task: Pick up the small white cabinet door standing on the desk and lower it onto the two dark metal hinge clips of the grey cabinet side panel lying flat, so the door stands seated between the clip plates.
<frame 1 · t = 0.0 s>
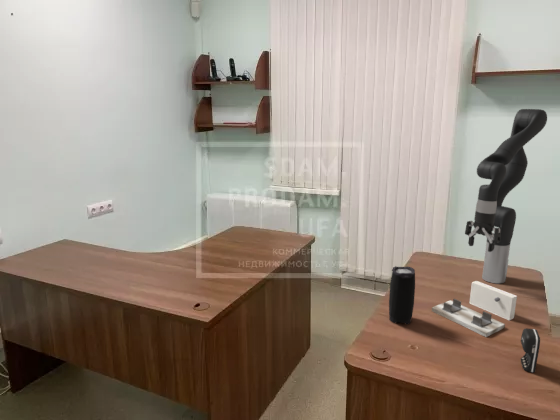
hand: (480, 248, 179), 17 cm above the table, tool pointing down, fingers open, 8 cm apart
portable speaker: (400, 320, 157), on the table
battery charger: (525, 366, 129), on the table
door: (490, 310, 163), on the table
cabinet side: (466, 319, 157), on the table
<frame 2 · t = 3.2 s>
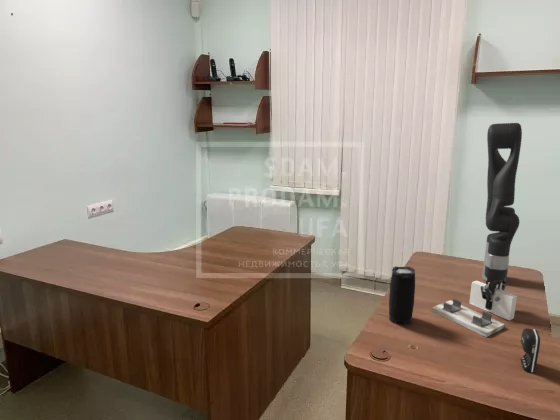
hand: (491, 307, 163), 1 cm above the table, tool pointing down, fingers closed on door, 3 cm apart
door: (490, 310, 163), on the table, touching gripper
everything else where it was.
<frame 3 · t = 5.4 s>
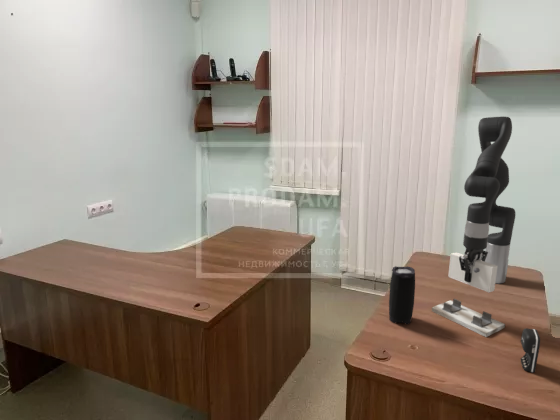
hand: (470, 280, 153), 15 cm above the table, tool pointing down, fingers closed on door, 3 cm apart
door: (470, 283, 153), point 14 cm above the table, touching gripper
everything else where it was.
when the fingers open (5 cm above the table, at t = 7.6 s): door drops 2 cm, resting on cabinet side.
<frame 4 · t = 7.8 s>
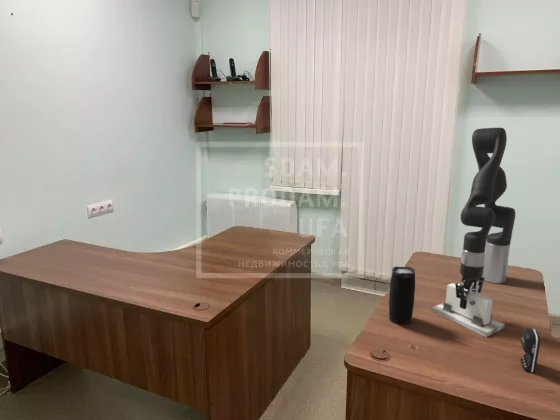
hand: (467, 306, 155), 5 cm above the table, tool pointing down, fingers open, 4 cm apart
door: (466, 314, 156), point 2 cm above the table, touching cabinet side
everything else where it was.
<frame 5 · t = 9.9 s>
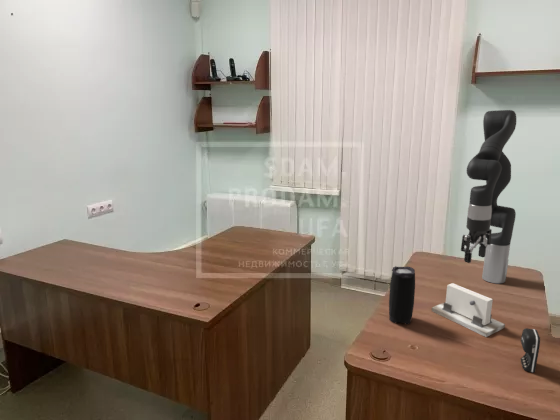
hand: (474, 259, 155), 22 cm above the table, tool pointing down, fingers open, 8 cm apart
nothing on the table moved.
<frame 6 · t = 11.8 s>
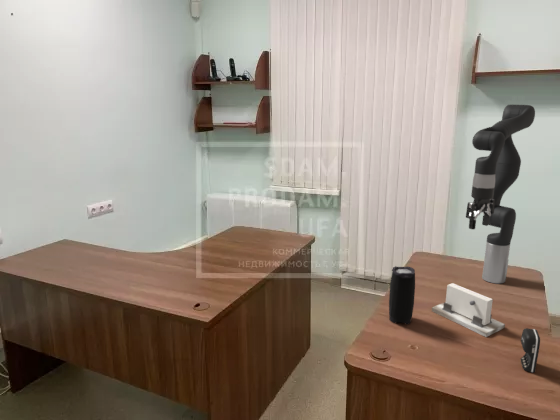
hand: (478, 227, 165), 30 cm above the table, tool pointing down, fingers open, 8 cm apart
nothing on the table moved.
at the end: door inside the target area on the cabinet side (0.1 cm from its centre), point 1.9 cm above the cabinet side's base; door tilted 0°; the gripper is holding nothing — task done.
